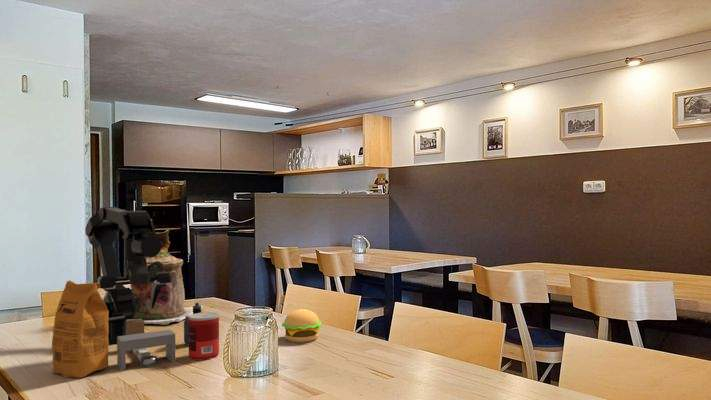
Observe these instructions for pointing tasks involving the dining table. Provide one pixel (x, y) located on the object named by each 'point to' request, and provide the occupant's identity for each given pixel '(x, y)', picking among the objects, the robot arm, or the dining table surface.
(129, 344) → the low shelf
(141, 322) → the blade tool
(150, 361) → the steel token
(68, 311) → the coffee package
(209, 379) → the dining table surface
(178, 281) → the cookie jar
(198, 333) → the canned food
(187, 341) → the vaping device
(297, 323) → the hamburger
